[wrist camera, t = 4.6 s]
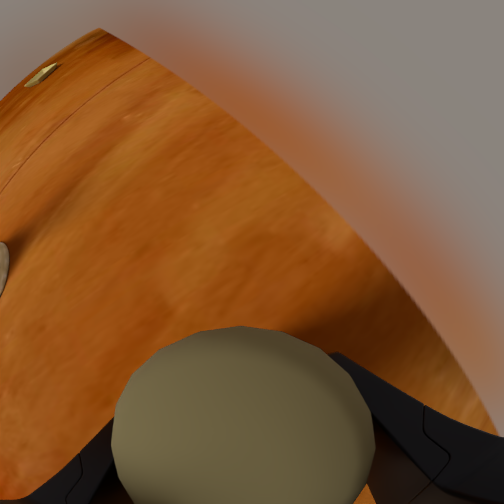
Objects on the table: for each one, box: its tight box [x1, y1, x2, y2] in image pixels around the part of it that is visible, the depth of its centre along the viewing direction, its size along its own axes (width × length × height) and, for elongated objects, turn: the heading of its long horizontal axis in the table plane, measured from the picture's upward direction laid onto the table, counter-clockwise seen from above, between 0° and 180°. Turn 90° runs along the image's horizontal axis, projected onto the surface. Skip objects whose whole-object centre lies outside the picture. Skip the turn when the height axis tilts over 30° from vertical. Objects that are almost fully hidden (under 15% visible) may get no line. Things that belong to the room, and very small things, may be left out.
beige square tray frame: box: [25, 63, 57, 87], centre depth 45 cm, size 9×9×2 cm
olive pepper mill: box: [111, 326, 376, 504], centre depth 8 cm, size 6×6×11 cm
